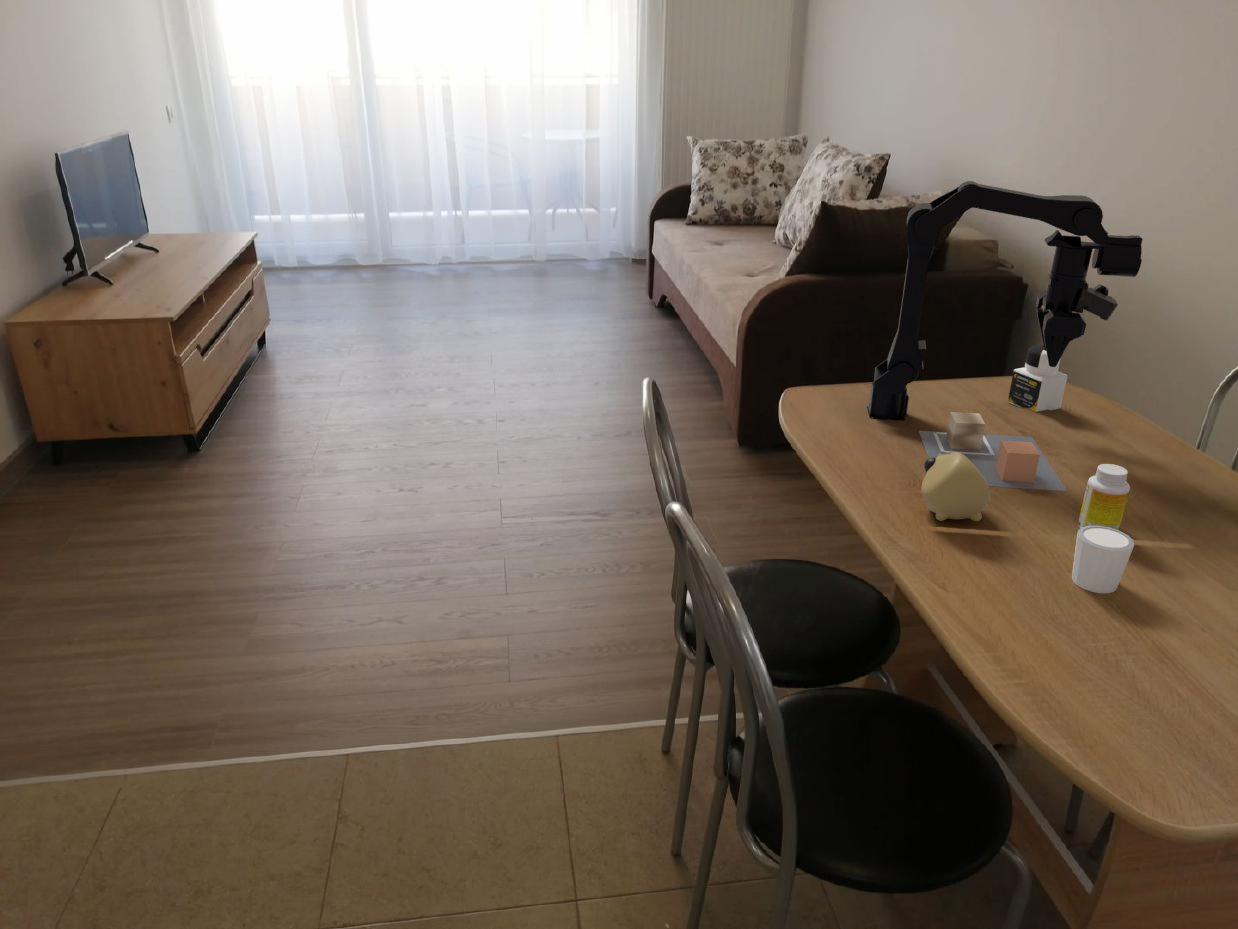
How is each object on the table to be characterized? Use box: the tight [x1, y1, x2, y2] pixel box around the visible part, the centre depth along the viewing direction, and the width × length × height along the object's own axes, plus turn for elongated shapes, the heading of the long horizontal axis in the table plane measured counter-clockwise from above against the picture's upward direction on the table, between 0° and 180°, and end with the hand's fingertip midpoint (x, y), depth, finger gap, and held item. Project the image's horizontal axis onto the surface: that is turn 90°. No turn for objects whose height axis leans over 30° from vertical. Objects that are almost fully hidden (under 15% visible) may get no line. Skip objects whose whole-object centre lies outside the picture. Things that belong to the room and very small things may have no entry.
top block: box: [995, 441, 1040, 482], centre depth 155 cm, size 5×5×5 cm
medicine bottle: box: [1007, 344, 1068, 413], centre depth 183 cm, size 7×7×12 cm
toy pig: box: [920, 452, 992, 522], centre depth 142 cm, size 10×12×11 cm
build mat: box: [918, 430, 1068, 492], centre depth 162 cm, size 20×22×1 cm
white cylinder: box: [1071, 526, 1135, 594], centre depth 125 cm, size 7×7×7 cm
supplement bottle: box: [1077, 463, 1131, 531], centre depth 138 cm, size 6×6×10 cm
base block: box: [946, 411, 986, 450], centre depth 166 cm, size 5×5×5 cm
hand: (1049, 358), depth 168 cm, fingers open, 9 cm apart
